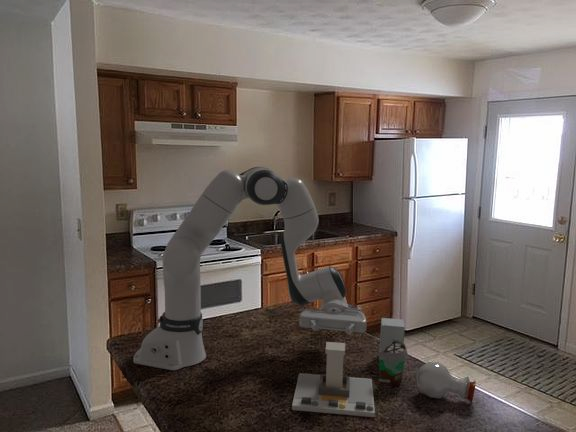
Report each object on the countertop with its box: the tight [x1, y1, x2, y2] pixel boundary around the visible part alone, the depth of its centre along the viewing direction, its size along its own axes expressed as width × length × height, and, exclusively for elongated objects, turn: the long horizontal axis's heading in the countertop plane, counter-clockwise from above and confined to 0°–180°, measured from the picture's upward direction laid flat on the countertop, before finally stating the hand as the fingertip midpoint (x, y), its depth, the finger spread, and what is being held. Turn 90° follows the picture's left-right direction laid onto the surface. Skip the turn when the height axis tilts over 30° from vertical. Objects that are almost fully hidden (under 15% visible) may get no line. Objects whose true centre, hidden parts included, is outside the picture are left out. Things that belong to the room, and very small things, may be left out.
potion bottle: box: [416, 361, 477, 404], centre depth 127 cm, size 9×10×15 cm
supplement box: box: [378, 317, 406, 355], centre depth 150 cm, size 7×7×13 cm
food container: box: [378, 339, 408, 386], centre depth 137 cm, size 12×6×10 cm, turn 148°
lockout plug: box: [324, 341, 346, 388], centre depth 128 cm, size 5×5×12 cm
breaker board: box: [291, 372, 376, 418], centre depth 127 cm, size 21×18×3 cm
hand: (331, 330), depth 135 cm, fingers open, 8 cm apart
